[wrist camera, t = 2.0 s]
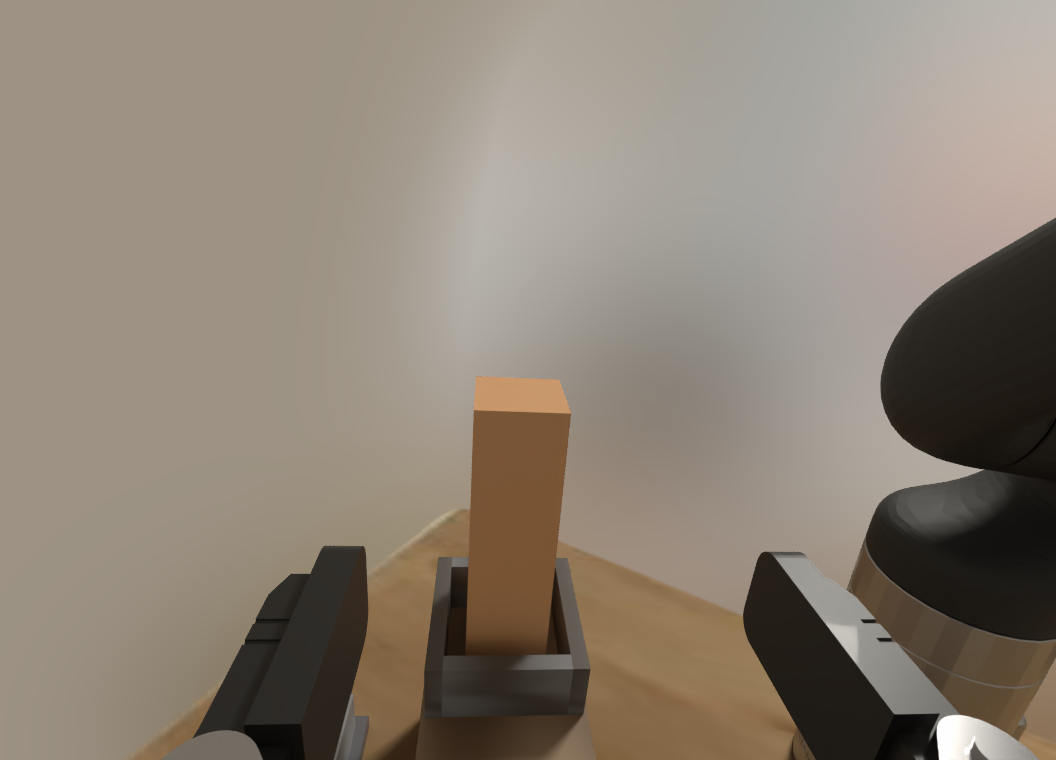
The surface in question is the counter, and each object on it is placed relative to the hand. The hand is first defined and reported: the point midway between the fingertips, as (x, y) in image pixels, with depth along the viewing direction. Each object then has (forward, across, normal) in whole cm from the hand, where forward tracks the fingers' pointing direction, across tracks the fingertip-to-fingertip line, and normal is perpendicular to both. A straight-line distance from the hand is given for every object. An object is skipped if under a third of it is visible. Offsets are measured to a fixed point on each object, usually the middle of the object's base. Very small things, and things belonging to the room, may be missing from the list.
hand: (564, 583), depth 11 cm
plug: (+13, 0, +16) cm, 21 cm away
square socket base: (+13, 0, +28) cm, 31 cm away
